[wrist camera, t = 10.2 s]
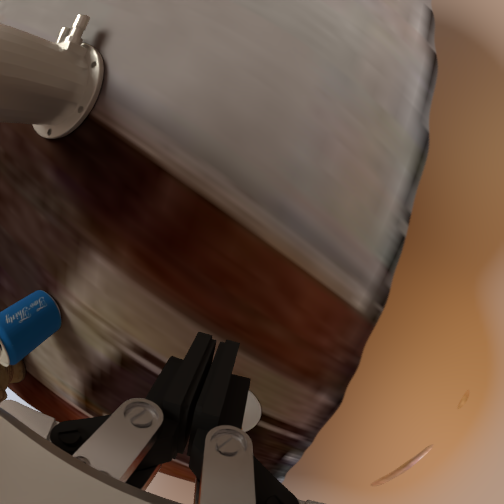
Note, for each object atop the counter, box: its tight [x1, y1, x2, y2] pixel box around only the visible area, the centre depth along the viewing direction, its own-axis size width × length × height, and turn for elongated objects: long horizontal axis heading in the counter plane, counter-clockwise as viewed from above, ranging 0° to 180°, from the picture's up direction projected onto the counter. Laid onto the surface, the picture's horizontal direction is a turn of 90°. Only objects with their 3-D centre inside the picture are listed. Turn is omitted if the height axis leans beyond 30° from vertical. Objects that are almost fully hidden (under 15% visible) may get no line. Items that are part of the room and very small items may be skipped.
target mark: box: [242, 391, 261, 432], centre depth 33 cm, size 12×12×1 cm
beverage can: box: [0, 290, 61, 367], centre depth 27 cm, size 6×6×12 cm
